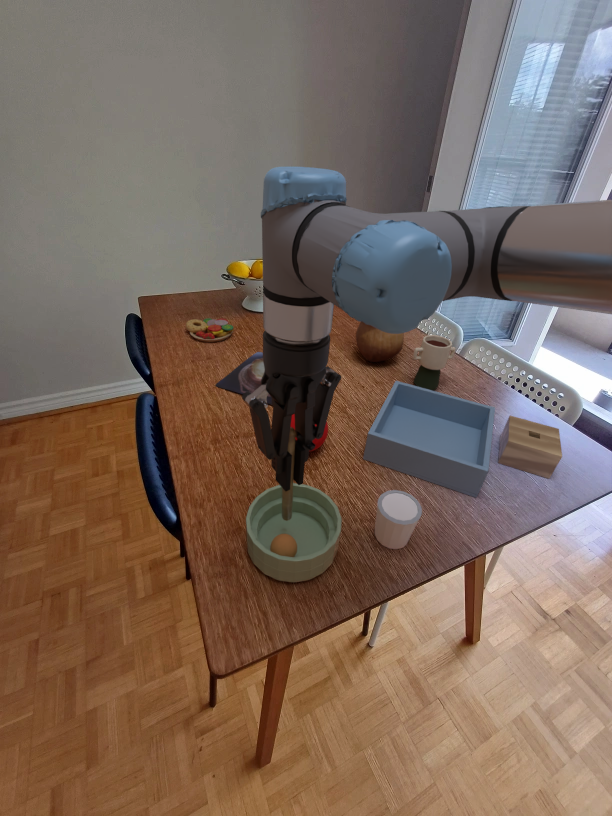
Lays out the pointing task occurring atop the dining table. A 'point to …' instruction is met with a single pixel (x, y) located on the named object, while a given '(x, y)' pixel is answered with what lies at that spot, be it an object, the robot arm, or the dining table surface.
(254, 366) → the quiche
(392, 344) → the butternut squash
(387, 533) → the white cup
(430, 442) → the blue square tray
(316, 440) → the ornament
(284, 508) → the stirring stick
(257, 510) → the bowl
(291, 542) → the dough ball
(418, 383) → the character mug
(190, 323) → the toy food set
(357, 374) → the dining table surface
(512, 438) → the utensil block
